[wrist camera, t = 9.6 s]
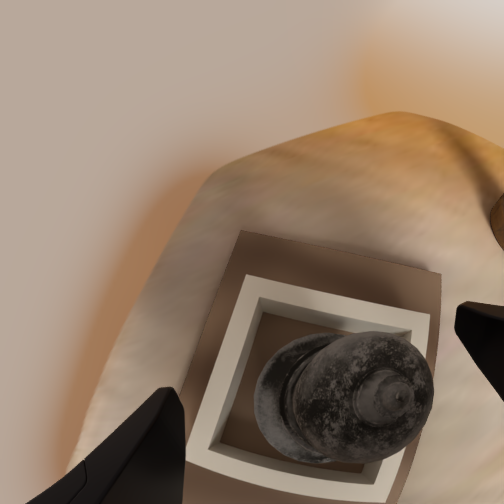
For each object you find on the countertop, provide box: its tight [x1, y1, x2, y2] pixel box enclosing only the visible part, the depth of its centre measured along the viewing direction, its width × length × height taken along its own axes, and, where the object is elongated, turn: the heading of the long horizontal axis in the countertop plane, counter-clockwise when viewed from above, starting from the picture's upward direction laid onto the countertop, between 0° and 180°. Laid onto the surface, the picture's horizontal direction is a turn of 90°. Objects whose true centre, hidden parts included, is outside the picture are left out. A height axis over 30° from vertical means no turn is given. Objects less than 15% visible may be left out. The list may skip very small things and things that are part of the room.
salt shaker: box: [254, 331, 434, 464], centre depth 8 cm, size 6×6×12 cm
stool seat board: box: [179, 230, 441, 504], centre depth 13 cm, size 20×14×4 cm
